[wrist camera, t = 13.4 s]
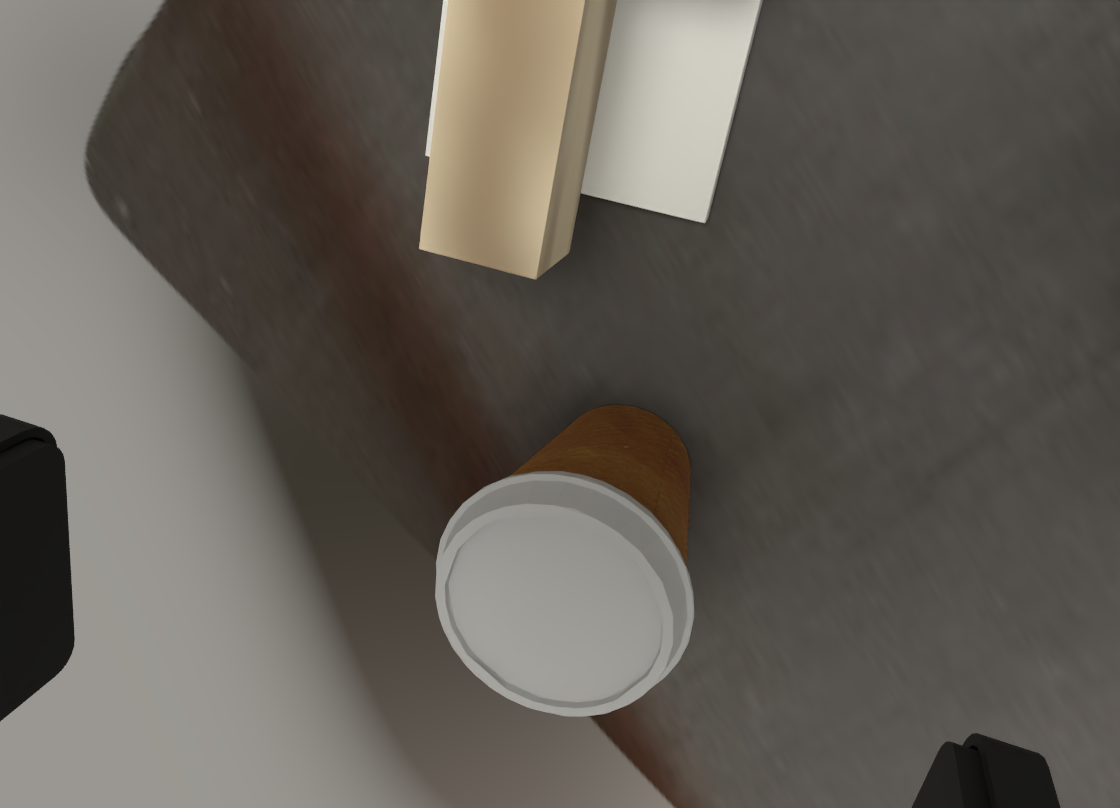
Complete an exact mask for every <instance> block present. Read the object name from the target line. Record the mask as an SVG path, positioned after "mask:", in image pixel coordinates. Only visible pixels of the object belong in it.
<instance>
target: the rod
mask: <svg viewBox="0 0 1120 808" xmlns="http://www.w3.org/2000/svg"><path fill="white" fill-rule="evenodd" d="M616 4H617V0H448V7H447V16H446V24H445V33H444V41H443V50H442V58H441V67H440V75H439V84H438V92H437V101H436V109H435V118H434V126H433V134H432V143H431V151H430V160H429V168H428V177H427V185H426V194H425V202H424V211H423V219H422V228H421V236H420V245H419V249H421V250H425V251H429V252H433V253H437V254H440V255H444V256H448V257H452V258H456V259H459V260H463V261H467V262H471V263H475V264H478V265H482V266H486V267H490V268H494V269H497V270H501V271H505V272H509V273H513V274H517V275H520V276H524V277H528V278H532V279H537V278H539V277H540V276H541V275H542V274H543V273H545V272H546V271H547V270H548V269H550V268H551V267H552V266H553V265H555V264H556V263H557V262H558V261H560V260H561V259H562V258H563V257H564V256H566V255H567V254H568V253H569V252H570V246H571V241H572V236H573V231H574V225H575V220H576V215H577V210H578V204H579V199H580V194H581V188H582V183H583V178H584V173H585V167H586V162H587V157H588V151H589V146H590V141H591V136H592V130H593V125H594V120H595V115H596V109H597V104H598V99H599V93H600V88H601V83H602V78H603V72H604V67H605V62H606V57H607V51H608V46H609V41H610V35H611V30H612V25H613V20H614V14H615V9H616Z"/></svg>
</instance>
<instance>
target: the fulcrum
mask: <svg viewBox="0 0 1120 808" xmlns="http://www.w3.org/2000/svg"><path fill="white" fill-rule="evenodd" d="M762 2H763V0H617V4H616V9H615V14H614V20H613V25H612V30H611V35H610V41H609V46H608V51H607V57H606V62H605V67H604V72H603V78H602V83H601V88H600V93H599V99H598V104H597V109H596V115H595V120H594V125H593V130H592V136H591V141H590V146H589V151H588V157H587V162H586V167H585V173H584V178H583V183H582V188H581V193H582V194H586V195H590V196H594V197H598V198H602V199H606V200H611V201H615V202H619V203H623V204H627V205H631V206H635V207H639V208H644V209H648V210H652V211H656V212H660V213H664V214H668V215H672V216H677V217H681V218H685V219H689V220H693V221H697V222H701V223H705V222H706V221H707V219H708V217H709V213H710V209H711V205H712V201H713V197H714V193H715V189H716V185H717V181H718V177H719V173H720V169H721V165H722V161H723V157H724V153H725V149H726V145H727V141H728V137H729V133H730V129H731V125H732V121H733V117H734V113H735V109H736V105H737V101H738V97H739V93H740V89H741V85H742V81H743V77H744V73H745V69H746V65H747V61H748V57H749V53H750V49H751V46H752V42H753V38H754V34H755V30H756V26H757V22H758V18H759V14H760V10H761V6H762ZM447 7H448V0H443V8H442V17H441V26H440V34H439V43H438V51H437V60H436V69H435V77H434V86H433V94H432V103H431V112H430V120H429V129H428V138H427V146H426V155H425V156H429V157H430V151H431V143H432V134H433V126H434V118H435V109H436V101H437V92H438V84H439V75H440V67H441V58H442V50H443V41H444V33H445V24H446V16H447Z"/></svg>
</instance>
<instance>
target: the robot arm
mask: <svg viewBox="0 0 1120 808" xmlns="http://www.w3.org/2000/svg"><path fill="white" fill-rule="evenodd" d="M72 603H73V602H72V585H71V566H70V548H69V530H68V512H67V493H66V476H65V460H64V456H63V453H62V452H61V450H60V449H59V448H57V445H56V440H55V438H54V437H53V435H52V434H51V433H50V432H49V431H48V430H46V429H44V428H42V427H38V426H36V425H33V424H29V423H26V422H23V421H20V420H17V419H14V418H11V417H8V416H5V415H0V721H1V720H2V719H4V718H5V717H6V716H7V715H9V714H10V713H11V712H12V711H13V710H15V709H16V708H17V707H18V706H20V705H21V704H22V703H23V702H24V701H26V700H27V699H28V698H29V697H31V696H32V695H33V694H34V693H35V692H37V691H38V690H39V689H40V688H41V687H43V686H44V685H45V684H46V683H47V682H49V681H50V680H51V679H52V678H54V677H55V676H56V675H57V674H58V673H59V672H60V671H61V670H62V669H63V668H64V666H65V665H66V663H67V662H68V660H69V658H70V656H71V654H72V650H73V648H74V621H73V604H72ZM912 808H1060V805H1059V801H1058V798H1057V794H1056V791H1055V788H1054V784H1053V781H1052V777H1051V774H1050V770H1049V767H1048V765H1047V762H1046V760H1045V758H1044V757H1043V756H1041V755H1040V754H1039V753H1036V752H1033V751H1030V750H1027V749H1024V748H1021V747H1018V746H1014V745H1011V744H1008V743H1005V742H1002V741H999V740H996V739H993V738H990V737H987V736H984V735H981V734H978V733H976V734H971V735H970V736H969V737H968V738H967V739H966V741H965V742H964V744H963V746H962V745H959V744H956V743H953V742H945V743H944V744H943V745H942V746H941V748H940V750H939V752H938V753H937V756H936V758H935V760H934V762H933V764H932V766H931V768H930V770H929V772H928V774H927V776H926V779H925V781H924V783H923V785H922V787H921V789H920V791H919V793H918V795H917V797H916V800H915V802H914V804H913V806H912Z"/></svg>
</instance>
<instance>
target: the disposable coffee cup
mask: <svg viewBox="0 0 1120 808" xmlns="http://www.w3.org/2000/svg"><path fill="white" fill-rule="evenodd" d="M690 481H691V467H690V460H689V456H688V453H687V450H686V448H685V446H684V444H683V443H682V441H681V439H680V437H679V436H678V435H677V433H676V432H675V431H674V429H673V428H671V427H670V426H669V425H668V424H666V423H665V422H664V421H663V420H662V419H660V418H659V417H657V416H656V415H654V414H652V413H650V412H648V411H645V410H643V409H640V408H637V407H632V406H625V405H607V406H603V407H598V408H595V409H593V410H590V411H588V412H586V413H584V414H583V415H581V416H580V417H579V418H577V419H576V420H575V421H574V422H573V423H572V424H571V425H569V426H568V427H567V428H566V429H565V430H564V431H562V432H561V433H560V434H559V435H558V436H556V437H555V438H554V439H553V440H552V441H551V442H549V443H548V444H547V445H546V446H545V447H543V448H542V449H541V450H540V451H539V452H537V453H536V454H535V455H534V456H533V457H532V458H531V459H530V460H528V461H527V462H526V463H525V464H524V465H522V466H521V467H520V468H519V469H518V470H517V471H515V472H514V473H513V474H512V475H511V476H509V477H507V478H504V479H502V480H500V481H497V482H495V483H492V484H490V485H487V486H485V487H484V488H483V489H481V490H480V491H479V492H477V493H476V494H475V495H473V496H472V497H471V498H469V499H468V500H467V501H465V502H464V503H463V504H462V505H461V507H460V508H459V509H458V510H457V512H456V513H455V514H454V515H453V517H452V518H451V519H450V521H449V523H448V525H447V527H446V529H445V531H444V533H443V535H442V537H441V540H440V545H439V550H438V556H437V561H436V570H437V575H436V592H435V598H436V603H437V609H438V614H439V618H440V621H441V624H442V627H443V629H444V632H445V633H446V635H447V637H448V639H449V641H450V643H451V645H452V647H453V649H454V650H455V651H456V653H457V654H458V655H459V657H460V658H461V659H462V661H463V662H464V664H465V665H466V666H467V667H468V668H469V669H470V670H471V671H472V672H473V673H474V674H475V675H476V676H477V677H478V678H479V679H481V680H482V681H483V682H484V683H486V684H487V685H488V686H489V687H490V688H492V689H493V690H495V691H497V692H498V693H500V694H501V695H503V696H505V697H506V698H508V699H510V700H512V701H515V702H517V703H519V704H521V705H523V706H526V707H528V708H531V709H535V710H540V711H544V712H548V713H553V714H557V715H562V716H592V715H599V714H606V713H608V712H611V711H613V710H616V709H619V708H621V707H624V706H627V705H629V704H630V703H632V702H634V701H635V700H637V699H638V698H640V697H641V696H643V695H644V694H645V693H646V692H647V691H648V690H649V689H650V688H652V687H653V686H654V685H656V684H657V683H658V682H660V681H661V680H662V679H664V678H665V677H666V676H667V675H668V674H669V672H670V671H671V670H672V669H673V668H674V666H675V665H676V664H677V663H678V662H679V660H680V658H681V656H682V654H683V652H684V650H685V649H686V647H687V645H688V643H689V638H690V633H691V629H692V624H693V619H694V594H693V589H692V584H691V580H690V575H689V572H688V570H687V567H686V562H687V558H686V556H687V545H688V544H687V539H688V523H689V519H688V517H689V501H690V497H689V496H690Z"/></svg>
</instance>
